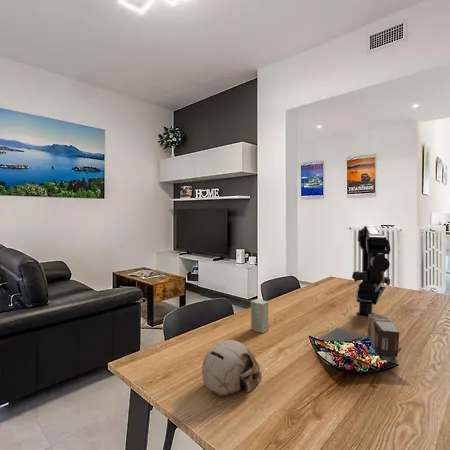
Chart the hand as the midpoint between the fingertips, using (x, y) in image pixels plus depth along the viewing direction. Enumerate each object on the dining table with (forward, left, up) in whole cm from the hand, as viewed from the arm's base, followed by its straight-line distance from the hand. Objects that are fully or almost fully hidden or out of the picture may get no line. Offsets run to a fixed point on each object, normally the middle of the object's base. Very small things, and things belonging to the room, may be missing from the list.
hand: (374, 304), depth 121 cm
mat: (+17, 0, -12) cm, 21 cm away
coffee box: (+5, +3, -7) cm, 9 cm away
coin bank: (+67, -16, -12) cm, 69 cm away
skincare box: (+32, -34, -12) cm, 48 cm away
